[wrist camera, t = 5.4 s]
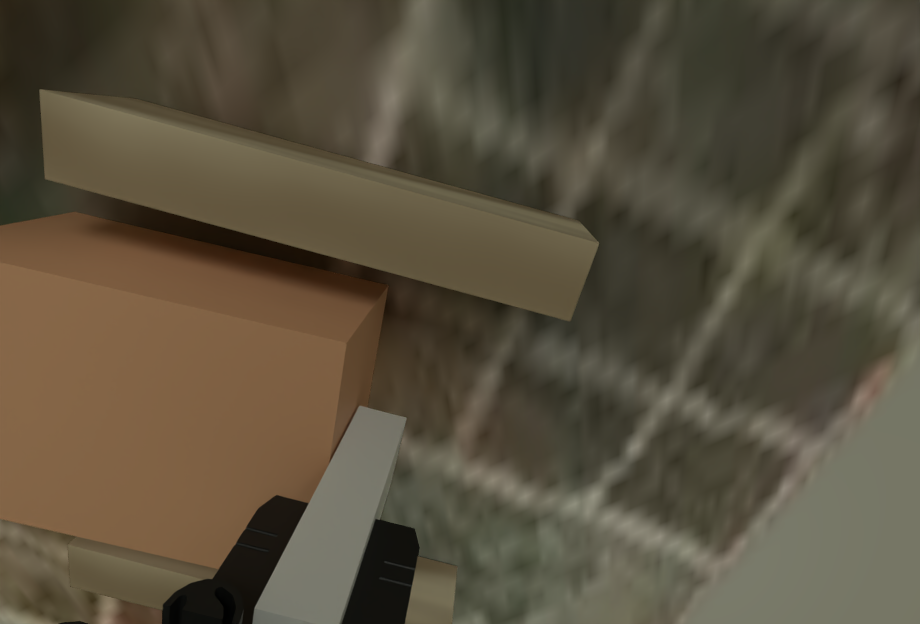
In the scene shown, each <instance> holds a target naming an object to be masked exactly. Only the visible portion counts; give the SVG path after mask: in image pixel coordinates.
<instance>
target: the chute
mask: <svg viewBox="0 0 920 624" xmlns="http://www.w3.org/2000/svg"><path fill="white" fill-rule="evenodd" d="M39 92H40V108H41V124H42V140H43V156H44V172H45V179H47V180H50V181H54V182H58V183H61V184H65V185H69V186H72V187H76V188H80V189H84V190H87V191H91V192H95V193H98V194H102V195H106V196H109V197H113V198H117V199H120V200H124V201H128V202H131V203H135V204H139V205H142V206H146V207H150V208H154V209H157V210H161V211H165V212H168V213H172V214H176V215H179V216H183V217H187V218H190V219H194V220H198V221H201V222H205V223H209V224H213V225H216V226H220V227H224V228H227V229H231V230H235V231H238V232H242V233H246V234H249V235H253V236H257V237H260V238H264V239H268V240H271V241H275V242H279V243H283V244H286V245H290V246H294V247H297V248H301V249H305V250H308V251H312V252H316V253H319V254H323V255H327V256H330V257H334V258H338V259H341V260H345V261H349V262H353V263H356V264H360V265H364V266H367V267H371V268H375V269H378V270H382V271H386V272H389V273H393V274H397V275H400V276H404V277H408V278H411V279H415V280H419V281H423V282H426V283H430V284H434V285H437V286H441V287H445V288H448V289H452V290H456V291H459V292H463V293H467V294H470V295H474V296H478V297H481V298H485V299H489V300H493V301H496V302H500V303H504V304H507V305H511V306H515V307H518V308H522V309H526V310H529V311H533V312H537V313H540V314H544V315H548V316H551V317H555V318H559V319H563V320H566V321H571V318H572V315H573V313H574V310H575V307H576V305H577V302H578V299H579V296H580V294H581V291H582V288H583V286H584V283H585V280H586V278H587V275H588V272H589V270H590V267H591V264H592V262H593V259H594V256H595V254H596V251H597V248H598V246H599V242H598V241H597V240H596V239H595V238H594V237H593V236H592V235H591V234H590V232H589V231H588V230H587V229H586V228H585V227H584V226H583V225H582V224H581V223H580V221H578V220H574V219H571V218H567V217H564V216H560V215H556V214H553V213H549V212H545V211H542V210H538V209H535V208H531V207H527V206H524V205H520V204H516V203H513V202H509V201H505V200H502V199H498V198H495V197H491V196H487V195H484V194H480V193H476V192H473V191H469V190H466V189H462V188H458V187H455V186H451V185H447V184H444V183H440V182H437V181H433V180H429V179H426V178H422V177H418V176H415V175H411V174H408V173H404V172H400V171H397V170H393V169H389V168H386V167H382V166H379V165H375V164H371V163H368V162H364V161H360V160H357V159H353V158H350V157H346V156H342V155H339V154H335V153H331V152H328V151H324V150H320V149H317V148H313V147H310V146H306V145H302V144H299V143H295V142H291V141H288V140H284V139H281V138H277V137H273V136H270V135H266V134H262V133H259V132H255V131H252V130H248V129H244V128H241V127H237V126H233V125H230V124H226V123H223V122H219V121H215V120H212V119H208V118H204V117H201V116H197V115H194V114H190V113H186V112H183V111H179V110H175V109H172V108H168V107H165V106H161V105H157V104H154V103H150V102H146V101H143V100H139V99H135V98H125V97H115V96H104V95H94V94H83V93H73V92H63V91H52V90H42V89H39ZM68 560H69V576H70V587H73V588H77V589H81V590H85V591H88V592H92V593H96V594H100V595H104V596H108V597H112V598H116V599H120V600H124V601H128V602H132V603H135V604H139V605H143V606H147V607H151V608H155V609H159V610H163V604H164V603H165V602H166V601H167V600H168V599H169V598H170V597H171V595H172V594H173V593H174V592H176V591H177V590H179V589H181V588H183V587H184V586H186V585H188V584H190V583H192V582H196V581H200V580H204V579H213V577H214V576H215V574H216V573H217V571H218V569H216V568H211V567H207V566H203V565H198V564H194V563H190V562H185V561H181V560H177V559H172V558H168V557H163V556H159V555H155V554H150V553H146V552H142V551H137V550H133V549H129V548H124V547H120V546H116V545H111V544H107V543H103V542H98V541H94V540H90V539H85V538H81V537H77V536H76V537H75V538H74V539H73V540H72V541H71V542H70V543H69V544H68ZM456 577H457V566H454V565H450V564H446V563H442V562H439V561H435V560H431V559H427V558H423V557H419V556H418V558H417V563H416V568H415V574H414V579H413V584H412V588H411V594H410V599H409V604H408V610H407V615H406V620H405V624H452V618H453V608H454V597H455V587H456Z"/></svg>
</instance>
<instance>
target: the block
mask: <svg viewBox="0 0 920 624" xmlns="http://www.w3.org/2000/svg"><path fill="white" fill-rule="evenodd" d="M388 286H389V285H385V284H381V283H377V282H372V281H368V280H364V279H360V278H355V277H351V276H347V275H342V274H338V273H334V272H330V271H325V270H321V269H317V268H313V267H308V266H304V265H300V264H295V263H291V262H287V261H283V260H278V259H274V258H270V257H266V256H261V255H257V254H253V253H248V252H244V251H240V250H236V249H231V248H227V247H223V246H219V245H214V244H210V243H206V242H201V241H197V240H193V239H189V238H184V237H180V236H176V235H172V234H167V233H163V232H159V231H154V230H150V229H146V228H142V227H137V226H133V225H129V224H125V223H120V222H116V221H112V220H107V219H103V218H99V217H95V216H90V215H86V214H82V213H78V212H71V213H66V214H60V215H55V216H49V217H44V218H39V219H33V220H28V221H23V222H17V223H12V224H6V225H1V226H0V519H3V520H7V521H11V522H16V523H20V524H24V525H29V526H33V527H37V528H42V529H46V530H50V531H55V532H59V533H63V534H68V535H72V536H77V537H81V538H85V539H90V540H94V541H98V542H103V543H107V544H111V545H116V546H120V547H124V548H129V549H133V550H137V551H142V552H146V553H150V554H155V555H159V556H163V557H168V558H172V559H177V560H181V561H185V562H190V563H194V564H198V565H203V566H207V567H211V568H216V569H219V568H220V566H221V565H222V563H223V562H224V560H225V559H226V557H227V556H228V554H229V552H230V551H231V549H232V548H233V546H234V545H236V542H237V540H238V539H239V537H240V535H241V534H242V532H243V531H244V530H245V529H246V526H247V525H248V523H249V522H250V520H251V518H252V517H253V515H254V514H255V512H256V511H257V509H258V508H259V507H261V506H262V505H263V504H265V503H266V502H267V501H269V500H270V499H271V498H273V497H274V496H276V495H279V496H282V497H286V498H290V499H294V500H298V501H302V502H306V503H309V502H310V500H311V498H312V496H313V494H314V492H315V490H316V488H317V487H318V485H319V483H320V481H321V479H322V477H323V475H324V473H325V471H326V469H327V467H328V465H329V463H330V461H331V460H332V458H333V456H334V454H335V452H336V450H337V448H338V446H339V444H340V442H341V440H342V438H343V436H344V434H345V433H346V431H347V429H348V427H349V425H350V423H351V421H352V419H353V417H354V415H355V413H356V411H357V409H358V407H359V406H363V407H368V401H369V396H370V390H371V384H372V378H373V372H374V367H375V361H376V355H377V349H378V344H379V338H380V332H381V326H382V320H383V315H384V309H385V303H386V297H387V292H388Z"/></svg>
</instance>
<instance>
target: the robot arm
mask: <svg viewBox="0 0 920 624" xmlns="http://www.w3.org/2000/svg"><path fill="white" fill-rule="evenodd" d="M406 420H407V418H406V417H402V416H398V415H394V414H390V413H386V412H383V411H379V410H375V409H371V408H367V407H363V406H359V407H358V409H357V411H356V413H355V415H354V417H353V419H352V421H351V423H350V425H349V427H348V429H347V431H346V433H345V434H344V436H343V438H342V440H341V442H340V444H339V446H338V448H337V450H336V452H335V454H334V456H333V458H332V460H331V461H330V463H329V465H328V467H327V469H326V471H325V473H324V475H323V477H322V479H321V481H320V483H319V485H318V487H317V488H316V490H315V492H314V494H313V496H312V498H311V500H310V502H309V503H306V502H302V501H298V500H294V499H290V498H286V497H282V496H279V495H276V496H274V497H273V498H271V499H270V500H269V501H267V502H266V503H265V504H263V505H262V506H261V507H259V508H258V509H257V511H256V512H255V514H254V515H253V517H252V518H251V520H250V522H249V523H248V525H247V526H246V529H245V530H244V531H243V532H242V534H241V535H240V537H239V539H238V540H237V542H236V545H234V546H233V548H232V549H231V551H230V552H229V554H228V556H227V557H226V559H225V560H224V562H223V563H222V565H221V566H220V568H219V569H218V571H217V573H216V574H215V576H214V577H213V579H204V580H200V581H196V582H192V583H190V584H188V585H186V586H184V587H183V588H181V589H179V590H177V591H176V592H174V593H173V594H172V595H171V597H170V598H169V599H168V600H167V601H166V602H165V603H164V604H163V612H162V624H405V620H406V615H407V610H408V604H409V599H410V594H411V588H412V584H413V579H414V574H415V568H416V563H417V558H418V553H419V544H418V540H417V536H416V532H415V529H414V528H410V527H406V526H402V525H398V524H394V523H390V522H386V521H382V520H380V518H381V515H382V512H383V508H384V505H385V502H386V499H387V496H388V492H389V489H390V485H391V481H392V477H393V473H394V469H395V465H396V461H397V457H398V452H399V448H400V444H401V440H402V436H403V432H404V428H405V424H406ZM60 624H87V623H84V622H81V621H76V622H64V623H60Z"/></svg>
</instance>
